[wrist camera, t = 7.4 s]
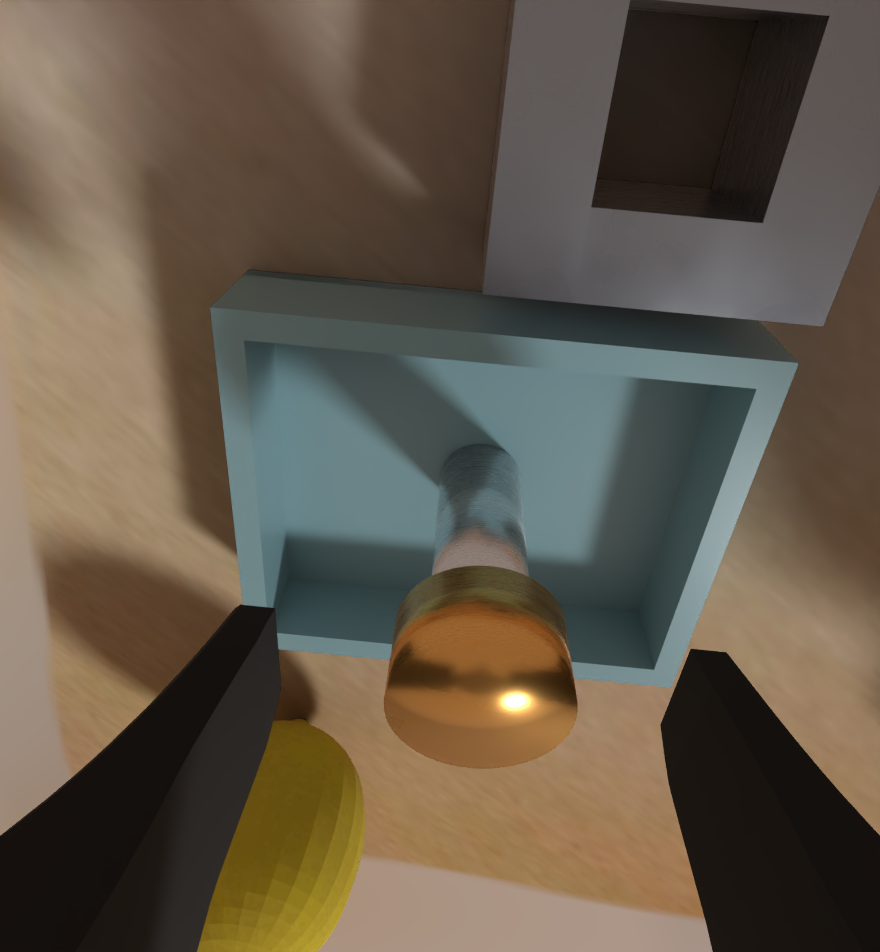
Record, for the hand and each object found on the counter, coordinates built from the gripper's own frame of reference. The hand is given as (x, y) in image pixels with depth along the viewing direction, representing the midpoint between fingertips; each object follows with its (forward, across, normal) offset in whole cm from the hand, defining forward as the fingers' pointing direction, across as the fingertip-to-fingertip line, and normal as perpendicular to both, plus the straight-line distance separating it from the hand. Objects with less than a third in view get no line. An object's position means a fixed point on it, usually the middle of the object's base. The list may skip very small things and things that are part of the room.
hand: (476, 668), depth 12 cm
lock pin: (+6, 0, 0) cm, 6 cm away
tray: (+7, 0, 0) cm, 7 cm away
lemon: (+7, +5, +11) cm, 14 cm away
